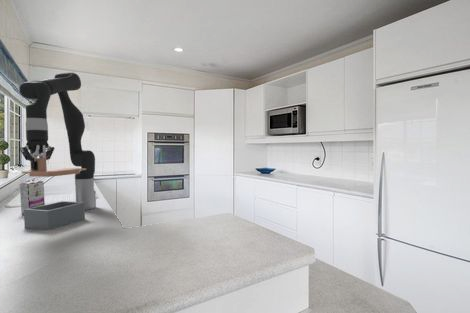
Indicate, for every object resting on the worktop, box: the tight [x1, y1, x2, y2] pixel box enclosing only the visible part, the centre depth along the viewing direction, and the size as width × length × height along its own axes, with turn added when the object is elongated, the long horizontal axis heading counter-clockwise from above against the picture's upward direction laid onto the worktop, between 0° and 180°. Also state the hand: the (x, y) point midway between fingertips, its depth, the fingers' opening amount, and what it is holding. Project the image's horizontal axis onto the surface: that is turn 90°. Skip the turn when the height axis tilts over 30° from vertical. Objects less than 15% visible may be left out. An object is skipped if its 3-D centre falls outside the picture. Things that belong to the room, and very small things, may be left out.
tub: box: [23, 200, 86, 231], centre depth 120 cm, size 18×14×8 cm
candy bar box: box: [19, 180, 46, 215], centre depth 145 cm, size 11×5×16 cm, turn 179°
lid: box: [21, 157, 86, 178], centre depth 119 cm, size 19×15×8 cm
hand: (38, 169), depth 112 cm, fingers closed on lid, 2 cm apart
